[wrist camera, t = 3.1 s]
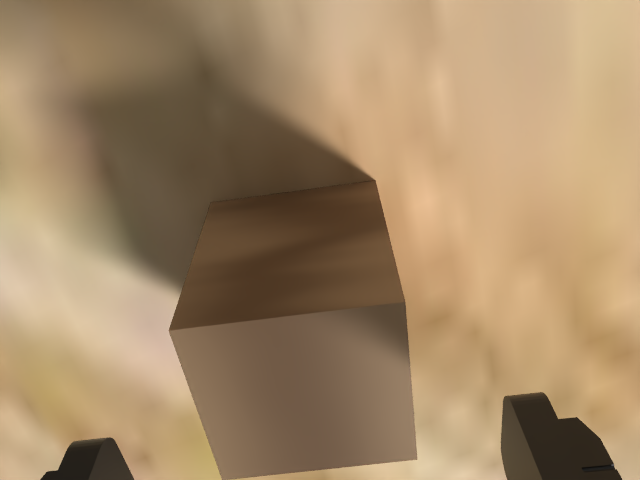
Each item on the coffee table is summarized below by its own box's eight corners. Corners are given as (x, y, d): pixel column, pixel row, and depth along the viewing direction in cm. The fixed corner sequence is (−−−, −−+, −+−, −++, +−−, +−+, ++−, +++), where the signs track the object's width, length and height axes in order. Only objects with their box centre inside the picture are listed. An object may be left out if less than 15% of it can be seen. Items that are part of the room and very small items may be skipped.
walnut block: (375, 179, 17) (405, 301, 12) (388, 311, 19) (417, 459, 14) (210, 201, 17) (168, 330, 12) (245, 328, 20) (222, 480, 14)
